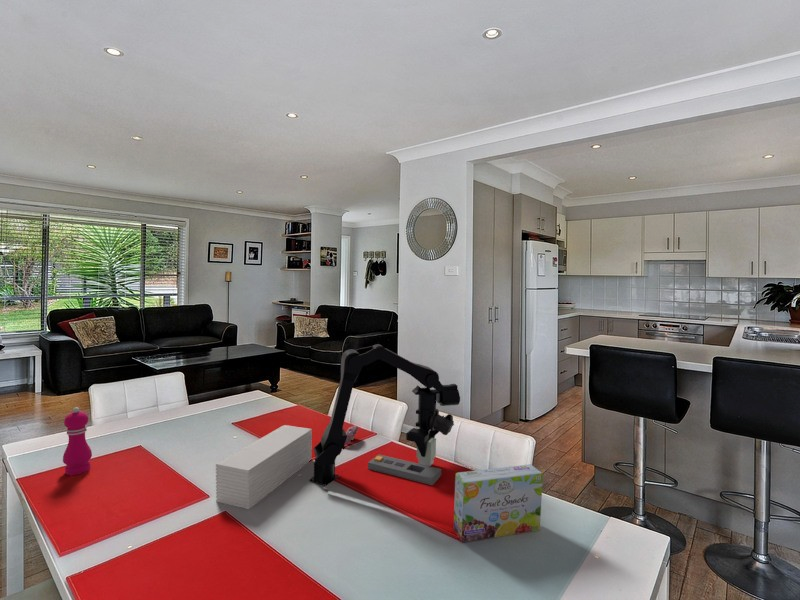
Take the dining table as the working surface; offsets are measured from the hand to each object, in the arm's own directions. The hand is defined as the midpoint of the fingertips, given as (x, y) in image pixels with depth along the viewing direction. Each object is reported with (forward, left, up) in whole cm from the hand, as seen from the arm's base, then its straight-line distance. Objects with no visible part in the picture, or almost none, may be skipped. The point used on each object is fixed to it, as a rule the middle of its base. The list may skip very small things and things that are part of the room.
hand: (426, 454), depth 138 cm
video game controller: (+5, +33, -5) cm, 34 cm away
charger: (0, 0, -3) cm, 3 cm away
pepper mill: (-54, +94, -5) cm, 108 cm away
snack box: (-23, -29, -5) cm, 37 cm away
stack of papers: (-30, +39, -5) cm, 49 cm away
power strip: (-8, +4, -4) cm, 10 cm away
